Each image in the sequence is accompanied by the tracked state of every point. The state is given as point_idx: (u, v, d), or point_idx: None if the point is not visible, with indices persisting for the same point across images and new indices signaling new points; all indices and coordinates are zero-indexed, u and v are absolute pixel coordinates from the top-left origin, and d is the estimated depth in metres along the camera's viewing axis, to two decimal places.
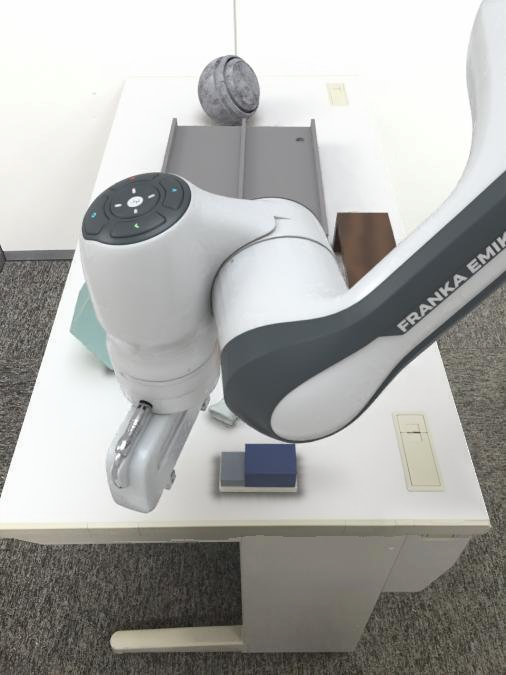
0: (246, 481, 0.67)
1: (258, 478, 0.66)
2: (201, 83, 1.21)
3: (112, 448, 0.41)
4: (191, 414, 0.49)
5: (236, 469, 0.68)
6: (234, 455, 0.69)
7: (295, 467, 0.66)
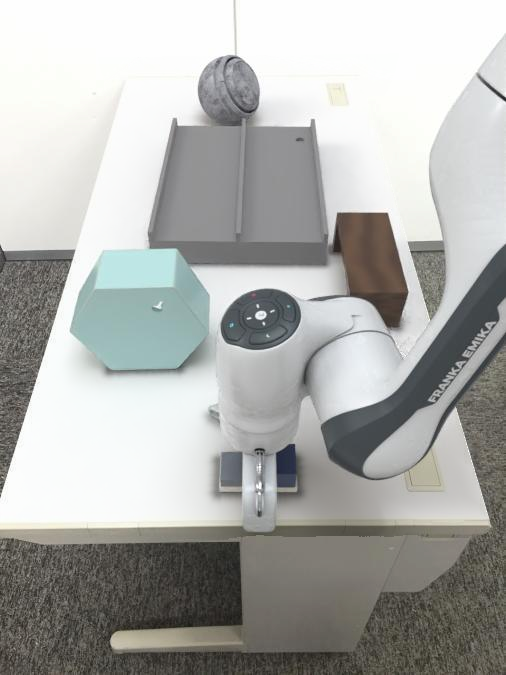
0: None
1: None
2: (201, 83, 1.21)
3: (246, 490, 0.55)
4: None
5: (236, 469, 0.68)
6: (234, 455, 0.69)
7: (295, 467, 0.66)
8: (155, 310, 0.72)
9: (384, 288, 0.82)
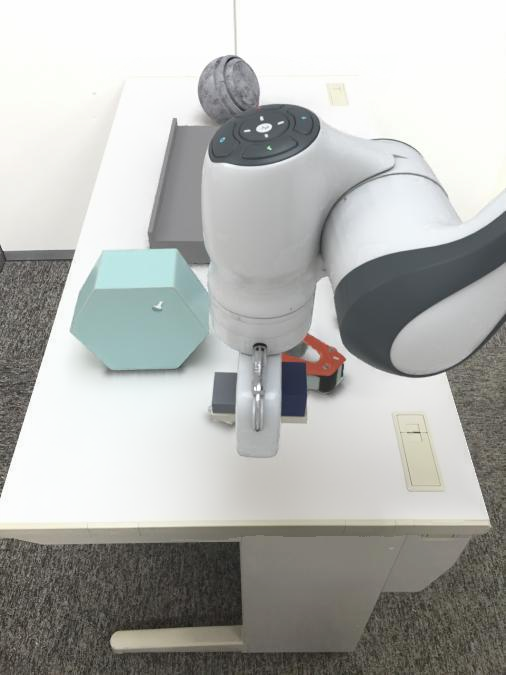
0: None
1: None
2: (201, 83, 1.21)
3: (241, 395, 0.41)
4: None
5: (232, 392, 0.54)
6: (230, 376, 0.56)
7: (305, 388, 0.52)
8: (155, 310, 0.72)
9: None
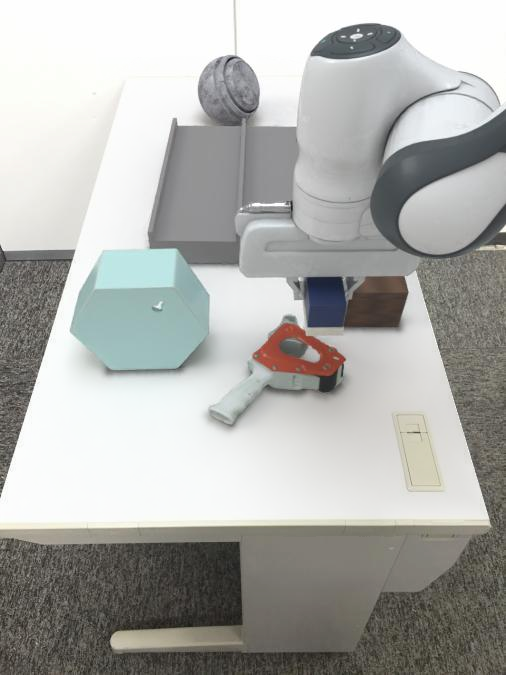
0: (304, 280, 0.65)
1: None
2: (201, 83, 1.21)
3: None
4: (323, 262, 0.59)
5: None
6: None
7: (317, 304, 0.60)
8: (155, 310, 0.72)
9: (384, 288, 0.82)
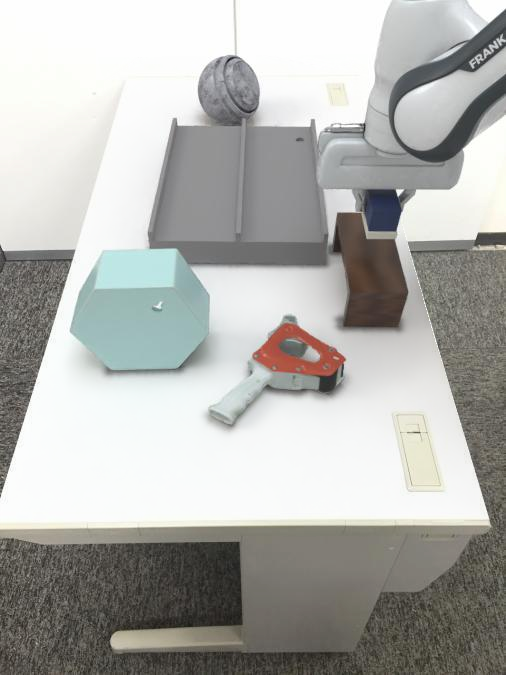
0: (364, 196, 0.82)
1: (367, 197, 0.80)
2: (201, 83, 1.21)
3: None
4: (384, 175, 0.75)
5: None
6: None
7: (378, 209, 0.76)
8: (155, 310, 0.72)
9: (384, 288, 0.82)
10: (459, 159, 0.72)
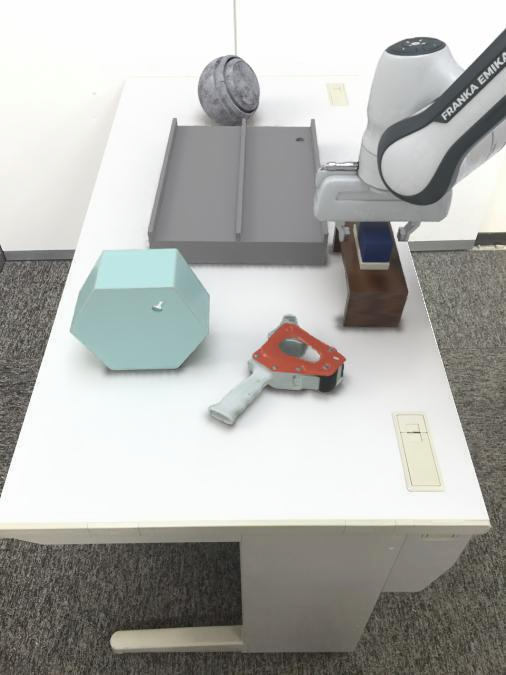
0: (358, 229, 0.86)
1: (360, 230, 0.85)
2: (201, 83, 1.21)
3: None
4: (377, 209, 0.79)
5: None
6: None
7: (371, 243, 0.81)
8: (155, 310, 0.72)
9: (384, 288, 0.82)
10: (447, 194, 0.77)
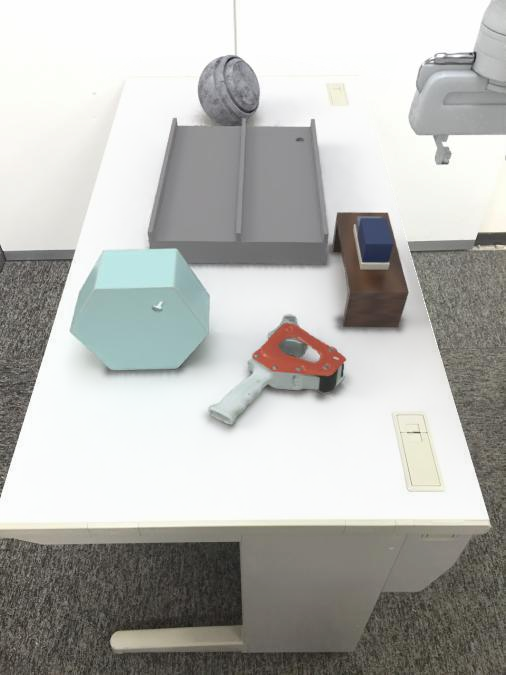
0: (358, 229, 0.86)
1: (360, 230, 0.85)
2: (201, 83, 1.21)
3: None
4: (492, 116, 0.64)
5: None
6: None
7: (371, 243, 0.81)
8: (155, 310, 0.72)
9: (384, 288, 0.82)
10: None
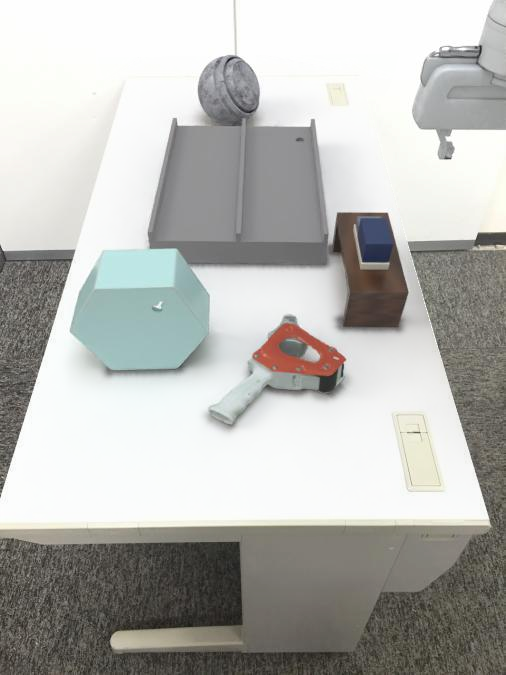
0: (358, 229, 0.86)
1: (360, 230, 0.85)
2: (201, 83, 1.21)
3: None
4: (496, 111, 0.64)
5: None
6: None
7: (371, 243, 0.81)
8: (155, 310, 0.72)
9: (384, 288, 0.82)
10: None
